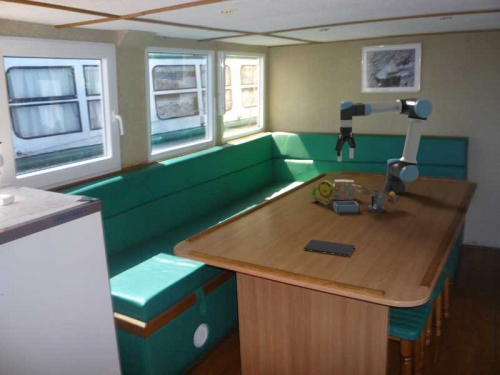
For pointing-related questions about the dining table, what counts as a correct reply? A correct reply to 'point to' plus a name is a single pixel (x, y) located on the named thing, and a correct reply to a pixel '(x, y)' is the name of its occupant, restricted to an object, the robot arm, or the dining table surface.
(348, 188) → the stack of blocks
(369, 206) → the fulcrum
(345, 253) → the notebook
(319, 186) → the toy lion
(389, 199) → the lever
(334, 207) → the tray
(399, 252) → the dining table surface
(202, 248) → the dining table surface
